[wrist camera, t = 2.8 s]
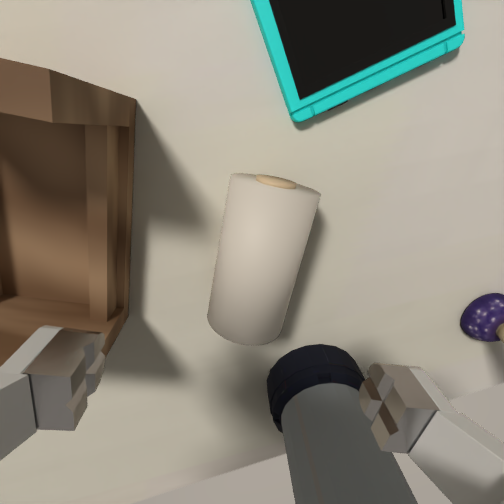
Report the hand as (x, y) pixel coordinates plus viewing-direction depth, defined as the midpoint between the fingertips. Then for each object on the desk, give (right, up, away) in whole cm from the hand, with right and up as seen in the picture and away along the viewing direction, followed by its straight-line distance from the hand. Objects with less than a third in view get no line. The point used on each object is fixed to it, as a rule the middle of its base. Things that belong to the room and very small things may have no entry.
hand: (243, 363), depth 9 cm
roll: (-1, +4, +10) cm, 11 cm away
